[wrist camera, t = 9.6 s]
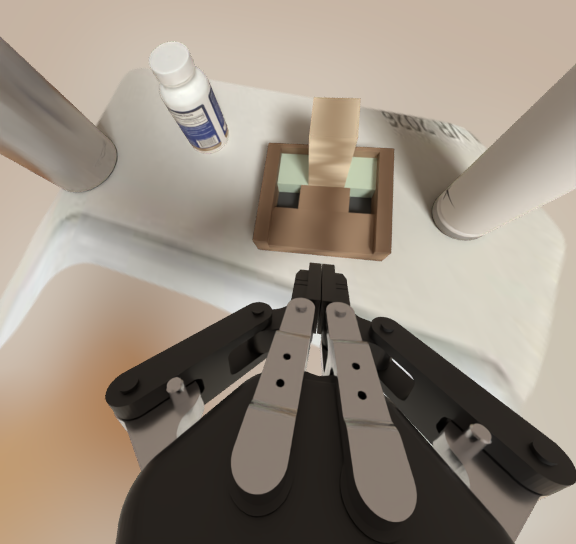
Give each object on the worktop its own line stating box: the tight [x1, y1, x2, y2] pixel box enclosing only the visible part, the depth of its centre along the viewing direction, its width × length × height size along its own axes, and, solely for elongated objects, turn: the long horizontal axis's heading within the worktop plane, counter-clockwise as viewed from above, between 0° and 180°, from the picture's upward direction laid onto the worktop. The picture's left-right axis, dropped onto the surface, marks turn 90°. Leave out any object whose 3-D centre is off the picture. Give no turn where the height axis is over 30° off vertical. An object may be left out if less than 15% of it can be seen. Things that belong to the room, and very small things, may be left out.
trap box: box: [253, 143, 394, 261], centre depth 26 cm, size 14×12×3 cm
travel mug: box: [432, 64, 576, 240], centre depth 16 cm, size 6×7×20 cm
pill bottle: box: [149, 41, 229, 154], centre depth 26 cm, size 5×5×10 cm
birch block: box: [308, 97, 360, 188], centre depth 23 cm, size 4×4×7 cm
